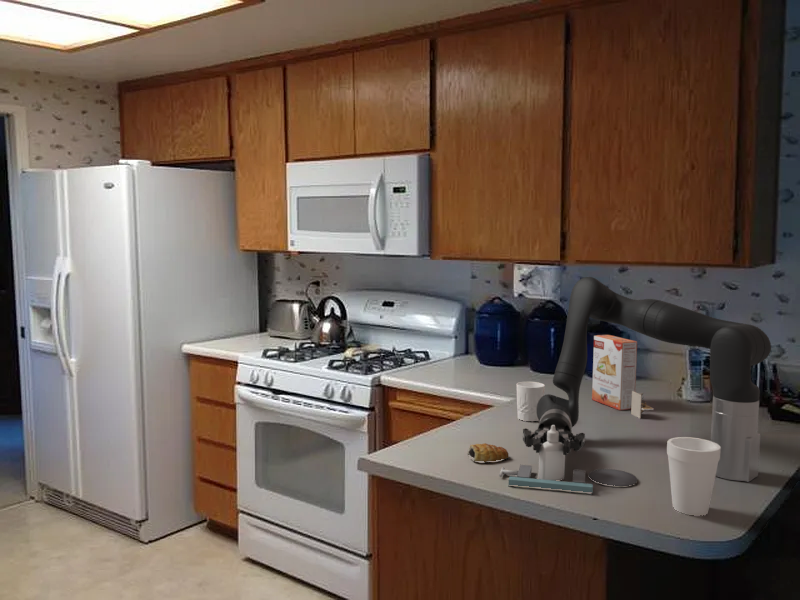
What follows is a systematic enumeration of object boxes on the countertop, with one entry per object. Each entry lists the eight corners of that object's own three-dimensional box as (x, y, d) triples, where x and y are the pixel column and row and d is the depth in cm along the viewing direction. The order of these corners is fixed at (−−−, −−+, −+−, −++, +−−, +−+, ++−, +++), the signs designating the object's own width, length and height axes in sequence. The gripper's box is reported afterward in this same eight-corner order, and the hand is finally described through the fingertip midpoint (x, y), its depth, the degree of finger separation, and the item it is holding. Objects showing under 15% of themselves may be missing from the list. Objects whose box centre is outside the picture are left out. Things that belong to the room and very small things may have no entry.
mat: (645, 479, 157) (645, 476, 157) (623, 491, 150) (623, 488, 150) (603, 468, 164) (603, 465, 164) (579, 479, 157) (580, 476, 157)
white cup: (511, 420, 205) (512, 385, 204) (520, 414, 211) (521, 380, 210) (539, 424, 201) (540, 388, 200) (547, 417, 208) (548, 383, 207)
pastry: (501, 453, 175) (501, 438, 174) (513, 462, 168) (513, 446, 168) (465, 457, 172) (465, 441, 172) (475, 466, 166) (476, 450, 165)
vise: (592, 477, 158) (592, 470, 158) (592, 494, 148) (592, 487, 148) (502, 469, 163) (502, 462, 163) (496, 485, 153) (496, 478, 152)
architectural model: (641, 415, 214) (642, 390, 213) (653, 421, 207) (654, 395, 206) (630, 415, 213) (631, 390, 213) (641, 421, 207) (643, 396, 206)
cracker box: (590, 400, 229) (593, 334, 227) (606, 399, 231) (609, 334, 229) (618, 411, 216) (621, 341, 214) (635, 409, 218) (638, 340, 216)
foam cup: (715, 504, 143) (718, 440, 142) (719, 522, 134) (723, 453, 133) (663, 498, 146) (666, 435, 145) (664, 515, 137) (667, 448, 136)
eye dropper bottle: (565, 484, 154) (568, 428, 152) (538, 482, 154) (540, 427, 153) (563, 477, 158) (565, 423, 157) (537, 475, 159) (538, 422, 157)
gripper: (524, 410, 171) (517, 429, 154) (587, 414, 167) (587, 434, 151) (523, 441, 171) (516, 463, 155) (586, 446, 168) (586, 469, 151)
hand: (551, 449), depth 153 cm, fingers closed on eye dropper bottle, 5 cm apart
